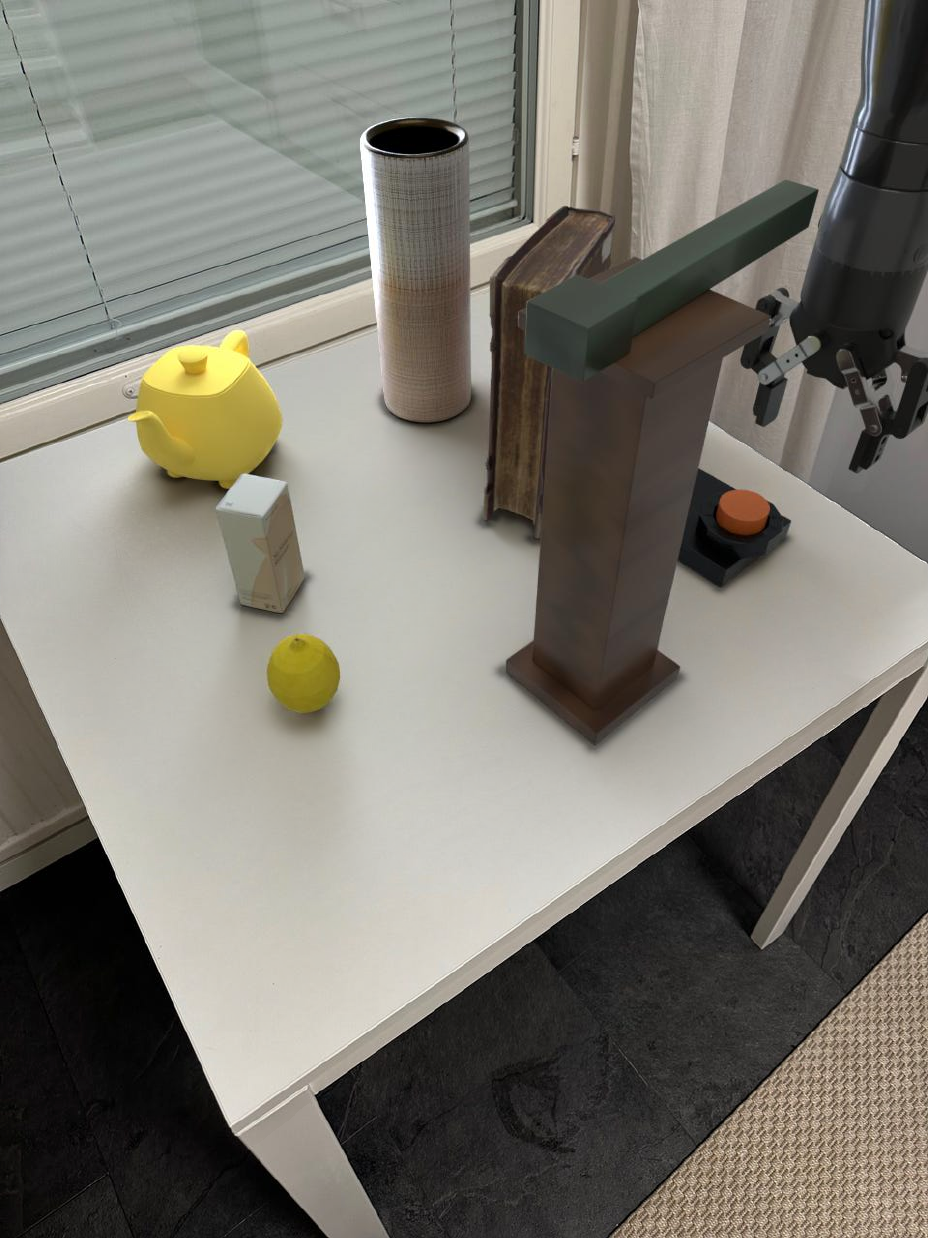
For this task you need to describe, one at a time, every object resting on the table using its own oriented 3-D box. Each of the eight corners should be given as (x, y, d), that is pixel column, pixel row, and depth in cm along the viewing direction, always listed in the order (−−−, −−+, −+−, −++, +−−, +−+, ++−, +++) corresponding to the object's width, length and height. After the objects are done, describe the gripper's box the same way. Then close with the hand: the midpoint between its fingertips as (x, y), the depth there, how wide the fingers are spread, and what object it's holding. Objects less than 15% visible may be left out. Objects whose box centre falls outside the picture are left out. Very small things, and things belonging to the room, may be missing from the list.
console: (796, 544, 84) (807, 511, 81) (731, 595, 80) (741, 562, 77) (685, 479, 91) (692, 447, 88) (620, 523, 86) (625, 490, 83)
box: (282, 615, 78) (260, 519, 70) (238, 605, 79) (211, 509, 71) (307, 575, 82) (288, 479, 74) (264, 566, 83) (241, 470, 75)
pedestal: (677, 677, 73) (771, 315, 50) (594, 745, 69) (654, 382, 45) (588, 612, 78) (634, 256, 55) (505, 671, 74) (518, 311, 50)
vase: (489, 395, 101) (491, 132, 81) (429, 435, 96) (416, 164, 76) (425, 365, 106) (412, 108, 86) (366, 401, 101) (337, 137, 81)
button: (775, 520, 81) (779, 505, 80) (745, 542, 79) (750, 527, 78) (735, 497, 83) (739, 482, 82) (705, 518, 81) (709, 503, 80)
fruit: (261, 708, 72) (242, 642, 66) (312, 667, 74) (297, 600, 68) (309, 745, 69) (293, 680, 63) (359, 701, 72) (348, 635, 66)
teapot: (106, 509, 89) (64, 402, 80) (207, 400, 101) (180, 297, 92) (226, 536, 86) (196, 428, 77) (314, 420, 98) (297, 316, 89)
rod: (820, 231, 57) (834, 182, 55) (583, 382, 45) (588, 328, 43) (765, 213, 59) (776, 165, 57) (524, 354, 47) (526, 301, 45)
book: (552, 431, 97) (570, 194, 78) (612, 451, 94) (645, 211, 76) (475, 520, 87) (475, 273, 68) (540, 544, 84) (557, 295, 66)
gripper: (1006, 258, 57) (917, 464, 69) (813, 195, 65) (763, 390, 76) (948, 297, 54) (865, 506, 66) (751, 225, 61) (708, 425, 73)
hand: (810, 444), depth 71 cm, fingers open, 8 cm apart
